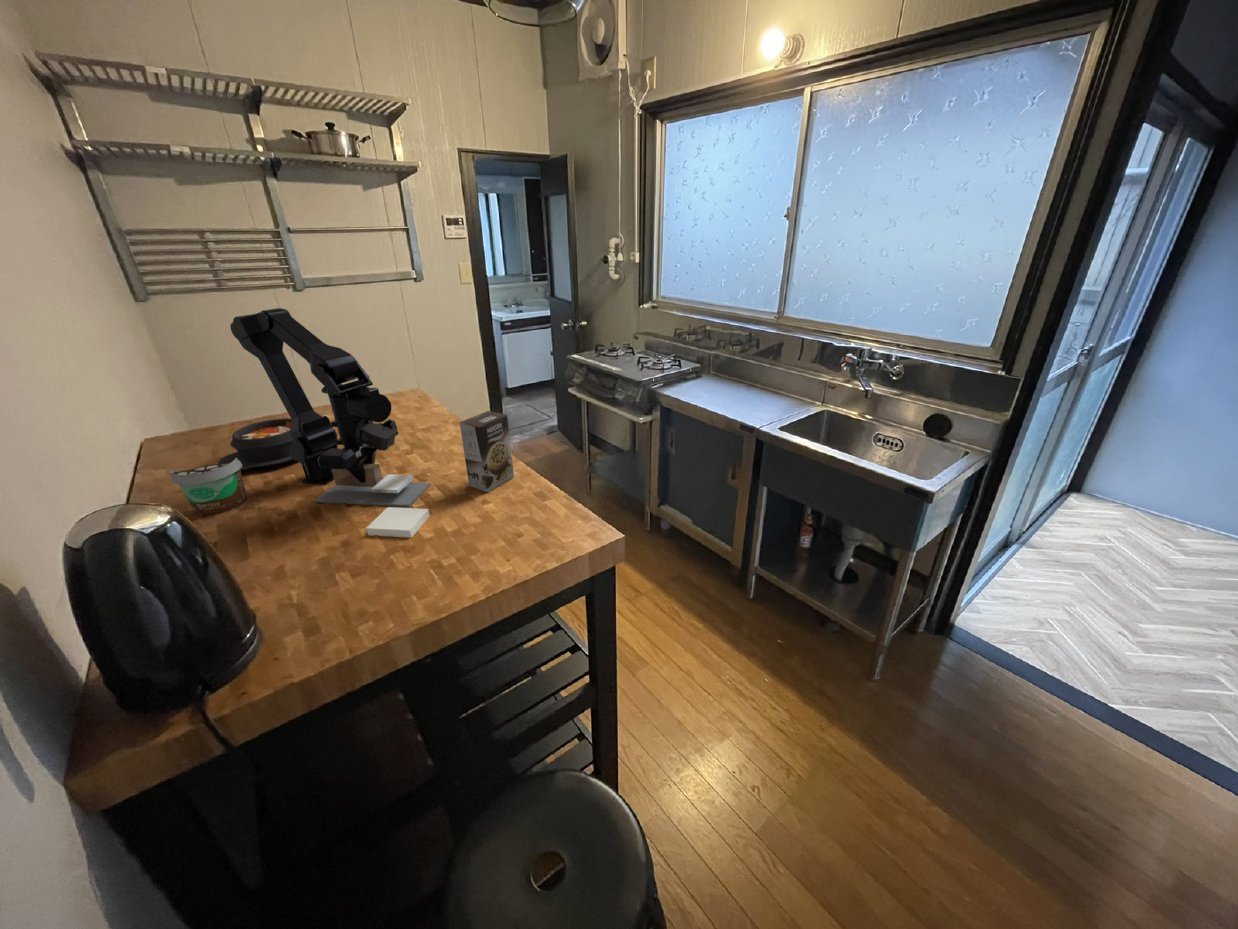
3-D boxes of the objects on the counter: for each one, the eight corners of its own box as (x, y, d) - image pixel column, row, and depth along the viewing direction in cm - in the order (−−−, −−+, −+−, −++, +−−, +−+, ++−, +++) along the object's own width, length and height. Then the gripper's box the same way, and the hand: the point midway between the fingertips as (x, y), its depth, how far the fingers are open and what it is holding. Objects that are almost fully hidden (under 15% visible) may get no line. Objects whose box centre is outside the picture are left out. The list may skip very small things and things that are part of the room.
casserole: (315, 434, 144) (307, 407, 140) (340, 452, 133) (332, 423, 129) (212, 463, 128) (199, 433, 124) (230, 485, 116) (217, 453, 113)
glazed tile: (366, 528, 96) (409, 530, 95) (387, 507, 103) (428, 509, 102) (368, 536, 97) (411, 539, 96) (389, 515, 104) (430, 517, 103)
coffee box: (488, 493, 111) (478, 427, 104) (468, 486, 115) (457, 421, 107) (515, 477, 118) (508, 414, 111) (496, 471, 121) (488, 409, 114)
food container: (180, 524, 101) (159, 481, 97) (187, 510, 106) (168, 469, 102) (251, 509, 106) (234, 468, 102) (255, 496, 111) (239, 456, 107)
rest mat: (315, 502, 109) (315, 500, 108) (343, 480, 118) (342, 479, 117) (409, 506, 106) (409, 504, 106) (430, 484, 115) (430, 483, 115)
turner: (329, 490, 109) (324, 472, 107) (348, 475, 115) (343, 458, 113) (398, 493, 107) (393, 475, 105) (413, 478, 113) (409, 460, 111)
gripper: (359, 432, 94) (377, 502, 101) (407, 400, 111) (420, 462, 118) (305, 430, 96) (327, 499, 103) (361, 399, 112) (376, 460, 119)
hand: (366, 479), depth 111 cm, fingers closed on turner, 3 cm apart
